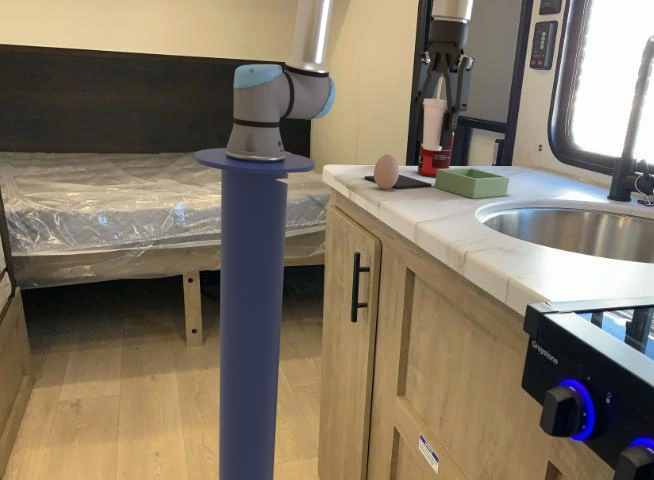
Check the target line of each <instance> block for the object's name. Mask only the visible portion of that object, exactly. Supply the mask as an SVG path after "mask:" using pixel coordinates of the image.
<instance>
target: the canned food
mask: <svg viewBox="0 0 654 480" xmlns="http://www.w3.org/2000/svg"><path fill="white" fill-rule="evenodd" d="M454 137H455V132H454V131H453V136H452V142H451V147H442V148H441V151H432V150H427V149H424V148H423V141H420V148H419V153H418V154H419V156H418V164H417V173H418V175H421V176H425V177H429V178H436V173H437V169H450V164H451V158H452V153H453V152H452V151H453V147H454V146H453V145H454Z"/></svg>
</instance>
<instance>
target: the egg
mask: <svg viewBox="0 0 654 480" xmlns="http://www.w3.org/2000/svg"><path fill="white" fill-rule="evenodd" d="M399 170H400V169H399V164H398V162H397V160H396V158H395V157H394V156H393V155H392V154H388V153H387V154H384V155H382V156H380V157H379V158H378V160H377V161H376V163H375V165H374V170H373V176H374V180H375V182H374V183H375V184H376V185H377V186H378V188H380V189H382V190H389V189H391V188H392V187H393V186H394V184H395V183H396V182H397V179H398V175H400V172H399Z"/></svg>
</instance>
